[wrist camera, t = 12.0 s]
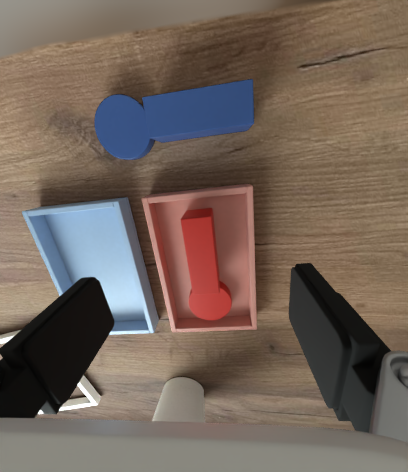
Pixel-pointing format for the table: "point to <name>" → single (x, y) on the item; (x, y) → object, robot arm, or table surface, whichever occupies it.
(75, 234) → the blue tray
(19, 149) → the table surface
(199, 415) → the dixie cup
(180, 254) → the rose tray
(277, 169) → the table surface
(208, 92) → the blue spoon
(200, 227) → the red spoon
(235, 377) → the table surface
